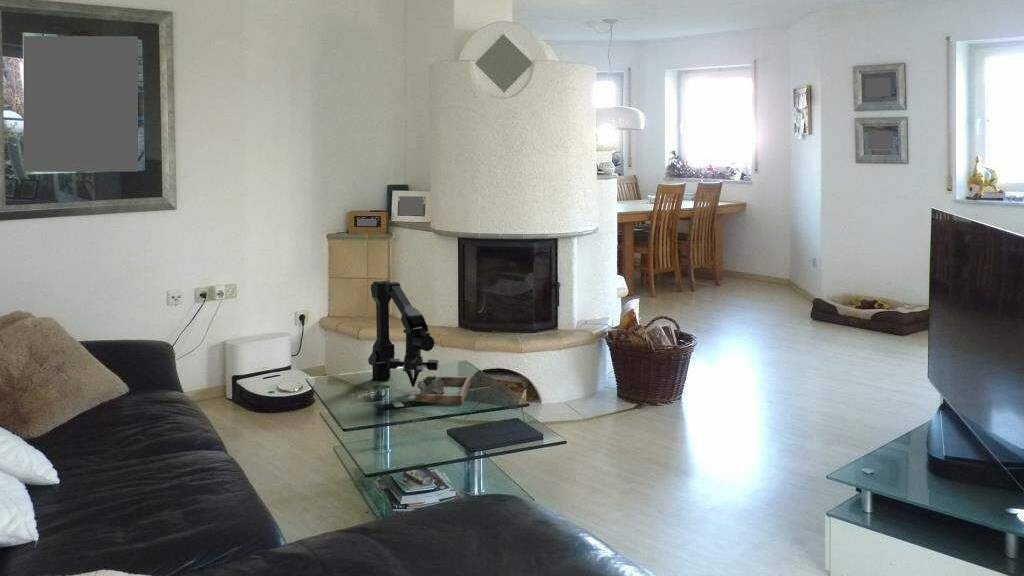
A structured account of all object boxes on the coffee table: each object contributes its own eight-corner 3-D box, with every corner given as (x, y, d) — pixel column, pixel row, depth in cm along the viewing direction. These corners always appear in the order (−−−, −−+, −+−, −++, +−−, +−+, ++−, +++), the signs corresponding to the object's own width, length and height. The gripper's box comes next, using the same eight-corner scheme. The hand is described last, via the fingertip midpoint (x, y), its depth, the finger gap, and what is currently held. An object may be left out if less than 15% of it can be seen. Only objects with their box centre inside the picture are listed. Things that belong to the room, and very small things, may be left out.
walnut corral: (414, 402, 337) (414, 394, 336) (426, 383, 365) (426, 375, 364) (462, 404, 336) (462, 396, 335) (470, 384, 364) (470, 377, 363)
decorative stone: (418, 408, 339) (442, 403, 336) (410, 385, 338) (435, 380, 334) (433, 392, 354) (457, 387, 351) (426, 370, 352) (450, 365, 349)
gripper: (384, 350, 341) (384, 391, 343) (435, 351, 340) (435, 393, 342) (390, 343, 352) (390, 383, 354) (439, 345, 351) (438, 385, 353)
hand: (413, 386), depth 351 cm, fingers closed
